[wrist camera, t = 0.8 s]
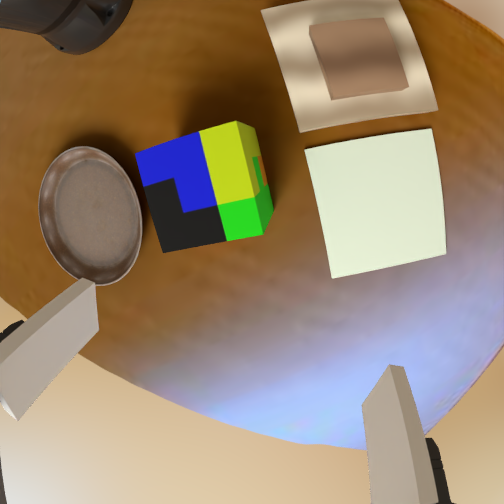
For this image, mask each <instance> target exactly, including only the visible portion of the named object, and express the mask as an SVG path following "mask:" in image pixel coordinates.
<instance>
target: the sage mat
mask: <svg viewBox="0 0 504 504" xmlns="http://www.w3.org/2000/svg"><path fill="white" fill-rule="evenodd" d="M305 154H306V158H307V162H308V166H309V170H310V174H311V179H312V183H313V187H314V191H315V196H316V200H317V205H318V209H319V214H320V219H321V223H322V228H323V233H324V238H325V243H326V248H327V254H328V259H329V264H330V270H331V276H332V278H337V277H342V276H347V275H352V274H357V273H362V272H367V271H372V270H377V269H381V268H386V267H391V266H395V265H400V264H404V263H409V262H413V261H418V260H422V259H426V258H431V257H435V256H439V255H443V254H446V236H445V219H444V207H443V197H442V188H441V180H440V173H439V166H438V160H437V154H436V149H435V143H434V138H433V134H432V129H424V130H416V131H408V132H400V133H393V134H386V135H380V136H374V137H367V138H362V139H356V140H350V141H345V142H339V143H334V144H329V145H324V146H319V147H315V148H310V149H305Z"/></svg>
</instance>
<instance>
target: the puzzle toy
mask: <svg viewBox="0 0 504 504" xmlns="http://www.w3.org/2000/svg"><path fill="white" fill-rule="evenodd" d="M135 156H136V160H137V164H138V168H139V172H140V176H141V180H142V184H143V187H144V191H145V195H146V198H147V202H148V205H149V209H150V212H151V216H152V219H153V222H154V226H155V229H156V232H157V235H158V239H159V242H160V245H161V248H162V251H163V253H166V252H171V251H176V250H182V249H187V248H192V247H198V246H203V245H208V244H214V243H219V242H224V241H230V240H235V239H241V238H246V237H252V236H257V235H263V234H264V232H265V230H266V227H267V225H268V223H269V221H270V218H271V216H272V214H273V212H274V208H273V204H272V199H271V195H270V190H269V186H268V182H267V177H266V173H265V169H264V165H263V160H262V156H261V152H260V148H259V143H258V139H257V135H256V131H255V128H253V127H251V126H248V125H246V124H243V123H241V122H238V121H233V122H230V123H226V124H222V125H219V126H215V127H212V128H208V129H205V130H202V131H198V132H195V133H192V134H189V135H186V136H183V137H180V138H177V139H174V140H171V141H168V142H165V143H162V144H159V145H157V146H154V147H151V148H148V149H146V150H143V151H140V152H138V153H135Z"/></svg>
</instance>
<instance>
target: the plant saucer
mask: <svg viewBox="0 0 504 504" xmlns="http://www.w3.org/2000/svg"><path fill="white" fill-rule="evenodd" d="M38 209H39V220H40V226H41V230H42V233H43V236H44V239H45V242H46V244H47V246H48V248H49V250H50V252H51V254H52V255H53V257H54V258H55V260H56V261H57V262H58V263H59V265H60V266H61V267H62V268H63V269H64V270H65V271H66V272H67V273H69V274H70V275H71V276H73V277H74V278H76V279H78V280H80V279H81V278H85V279H87V280H90V281H92V282H95V285H97V286H101V285H108V284H112V283H114V282H117V281H118V280H120V279H121V278H123V277H124V276H125V275H126V274H127V273H128V272H129V270H130V269H131V268H132V266H133V264H134V263H135V261H136V258H137V256H138V253H139V249H140V245H141V239H142V213H141V207H140V203H139V199H138V196H137V193H136V190H135V188H134V186H133V184H132V182H131V180H130V178H129V176H128V175H127V173H126V172H125V171H124V169H123V168H122V167H121V166H120V165H119V163H118V162H117V161H116V160H115V159H113V158H112V157H111V156H110V155H108V154H107V153H105V152H103V151H101V150H99V149H96V148H93V147H88V146H79V147H74V148H71V149H68V150H66V151H64V152H63V153H61V154H60V155H59V156H58V157H57V158H56V159H55V160H54V161H53V162H52V163H51V165H50V166H49V168H48V169H47V171H46V173H45V175H44V178H43V181H42V184H41V188H40V193H39V203H38Z"/></svg>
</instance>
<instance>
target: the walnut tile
mask: <svg viewBox="0 0 504 504" xmlns="http://www.w3.org/2000/svg"><path fill="white" fill-rule="evenodd" d="M309 36H310V39H311V41H312V44H313V47H314V50H315V52H316V55H317V58H318V61H319V64H320V67H321V70H322V73H323V76H324V79H325V82H326V86H327V89H328V92H329V95H330V99H331V101H332V100H338V99H343V98H349V97H356V96H363V95H370V94H377V93H386V92H395V91H402V90H404V89H406V88H408V87H409V84H408V81H407V78H406V74H405V71H404V68H403V65H402V62H401V60H400V57H399V54H398V51H397V48H396V46H395V43H394V41H393V38H392V36H391V33H390V31H389V28H388V26H387V24H386V21H385V19H384V17H383V18H365V19H353V20H344V21H335V22H328V23H321V24H315V25H309Z"/></svg>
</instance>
